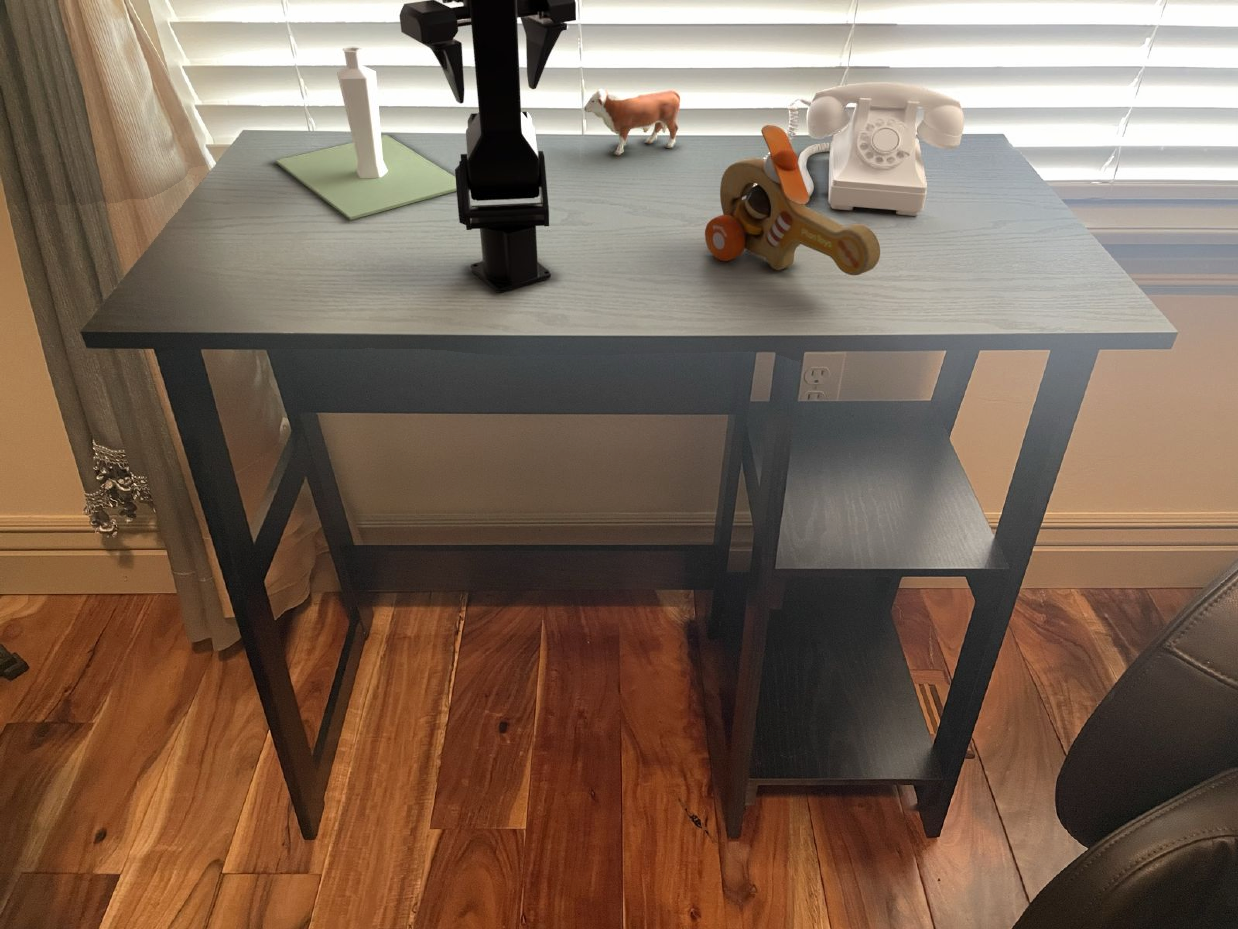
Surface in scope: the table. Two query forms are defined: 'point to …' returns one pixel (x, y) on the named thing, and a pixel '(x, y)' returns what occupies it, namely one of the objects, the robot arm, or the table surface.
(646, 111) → the bull figurine
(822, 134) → the telephone
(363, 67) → the perfume bottle
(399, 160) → the mat
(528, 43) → the robot arm
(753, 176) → the toy helicopter
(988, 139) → the table surface
